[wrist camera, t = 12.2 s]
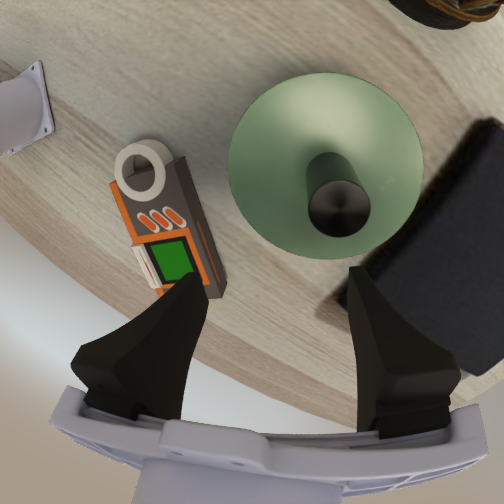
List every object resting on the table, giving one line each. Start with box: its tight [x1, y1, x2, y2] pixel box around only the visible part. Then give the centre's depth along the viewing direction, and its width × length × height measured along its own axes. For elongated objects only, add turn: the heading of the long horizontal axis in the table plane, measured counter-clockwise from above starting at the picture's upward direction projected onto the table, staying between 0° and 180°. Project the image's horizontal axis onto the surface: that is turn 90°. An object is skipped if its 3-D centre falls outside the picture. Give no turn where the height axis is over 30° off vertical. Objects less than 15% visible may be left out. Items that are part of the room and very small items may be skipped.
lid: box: [228, 72, 424, 259], centre depth 12 cm, size 10×10×5 cm
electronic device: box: [109, 139, 227, 299], centre depth 24 cm, size 7×3×15 cm
